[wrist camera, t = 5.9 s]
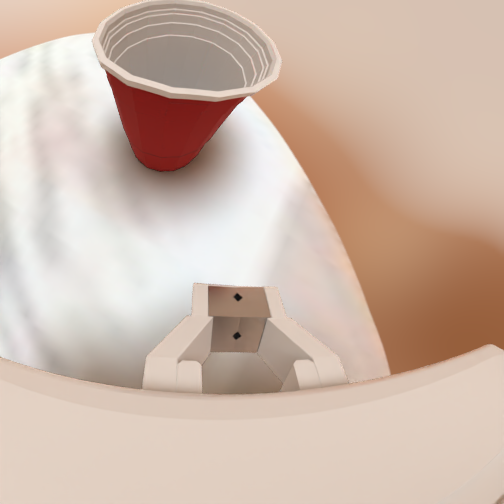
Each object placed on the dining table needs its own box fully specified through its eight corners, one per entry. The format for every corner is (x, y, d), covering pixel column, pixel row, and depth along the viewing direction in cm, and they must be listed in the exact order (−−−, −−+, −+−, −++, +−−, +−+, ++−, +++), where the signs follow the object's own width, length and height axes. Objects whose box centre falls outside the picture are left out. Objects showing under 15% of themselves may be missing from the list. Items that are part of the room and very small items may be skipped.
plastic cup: (245, 185, 23) (320, 92, 12) (118, 216, 19) (91, 111, 8) (210, 93, 24) (250, -3, 13) (102, 111, 20) (96, 2, 9)
